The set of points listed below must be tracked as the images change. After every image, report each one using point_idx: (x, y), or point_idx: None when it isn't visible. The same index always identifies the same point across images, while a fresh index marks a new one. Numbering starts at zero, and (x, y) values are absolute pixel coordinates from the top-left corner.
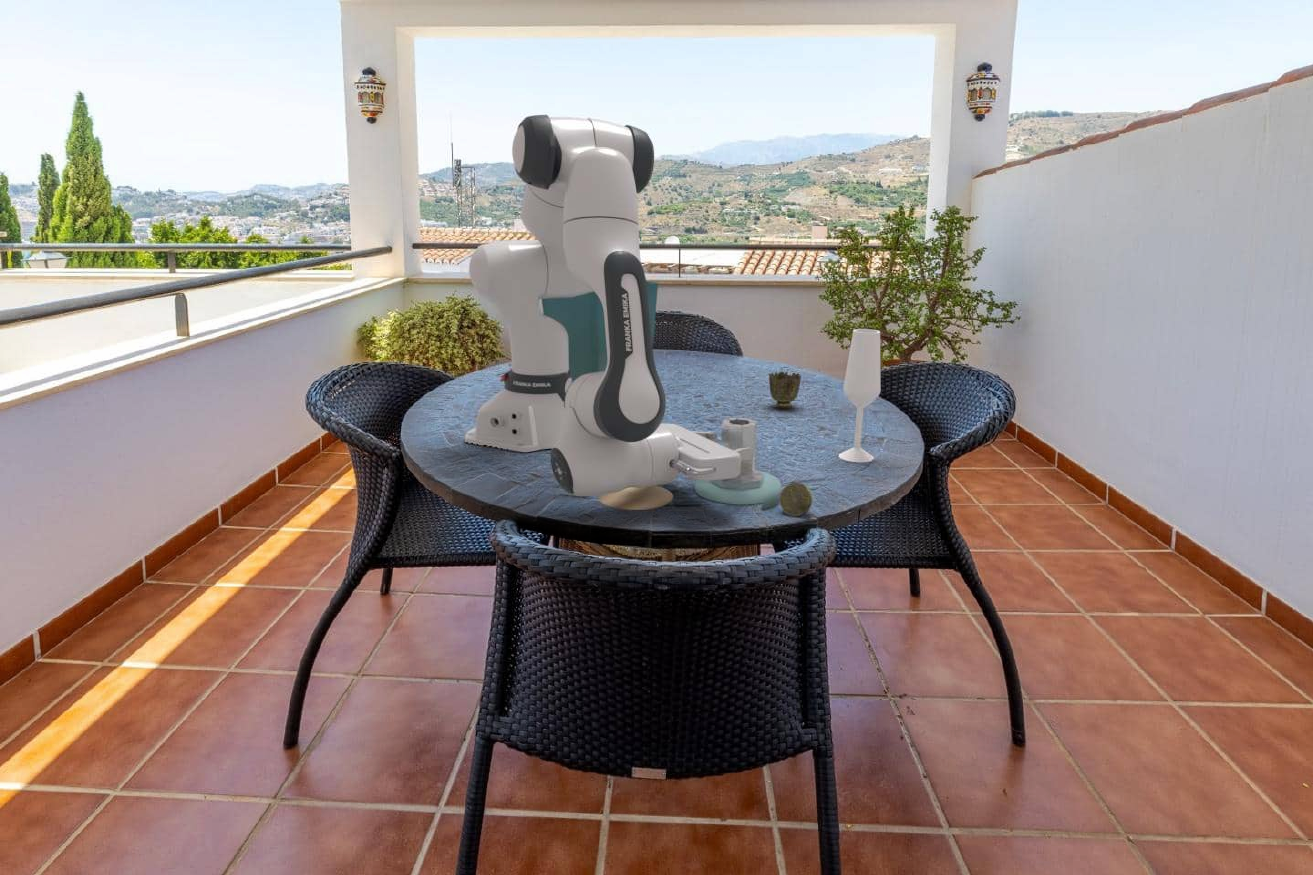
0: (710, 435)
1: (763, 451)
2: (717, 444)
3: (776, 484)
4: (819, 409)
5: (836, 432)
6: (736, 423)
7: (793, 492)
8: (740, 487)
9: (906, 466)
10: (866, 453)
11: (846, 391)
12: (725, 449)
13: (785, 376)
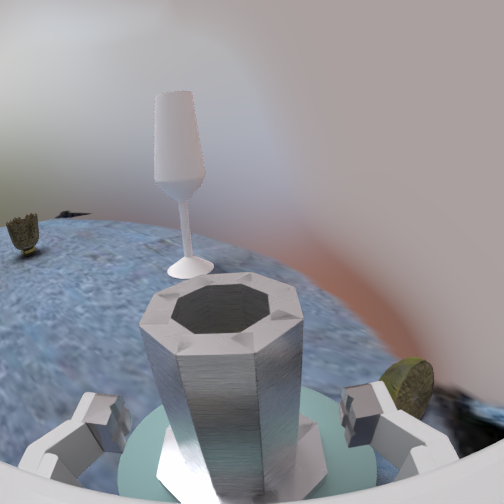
0: (110, 421)
1: (82, 321)
2: (406, 499)
3: (308, 397)
4: (61, 242)
5: (113, 253)
6: (179, 316)
7: (410, 388)
8: (321, 483)
9: (250, 253)
10: (201, 258)
11: (171, 180)
12: (497, 472)
13: (19, 221)
